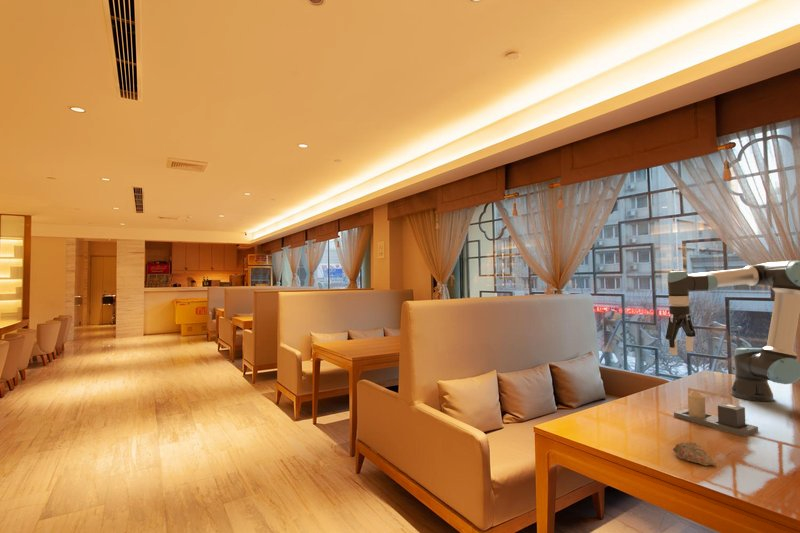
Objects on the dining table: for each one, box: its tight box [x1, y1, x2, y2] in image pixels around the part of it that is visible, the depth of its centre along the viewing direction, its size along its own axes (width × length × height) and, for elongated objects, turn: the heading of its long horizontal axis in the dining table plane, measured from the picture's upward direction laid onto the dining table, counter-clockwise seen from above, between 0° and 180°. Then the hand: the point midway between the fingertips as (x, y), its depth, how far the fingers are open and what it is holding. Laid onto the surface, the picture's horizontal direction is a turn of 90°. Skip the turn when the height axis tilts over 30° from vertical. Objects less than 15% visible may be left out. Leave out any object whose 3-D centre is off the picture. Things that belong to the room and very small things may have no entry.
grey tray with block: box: [673, 402, 759, 437], centre depth 158 cm, size 10×24×9 cm, turn 27°
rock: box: [672, 442, 717, 466], centre depth 128 cm, size 9×6×10 cm
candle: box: [687, 391, 706, 419], centre depth 164 cm, size 6×6×10 cm
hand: (681, 353), depth 181 cm, fingers open, 13 cm apart
